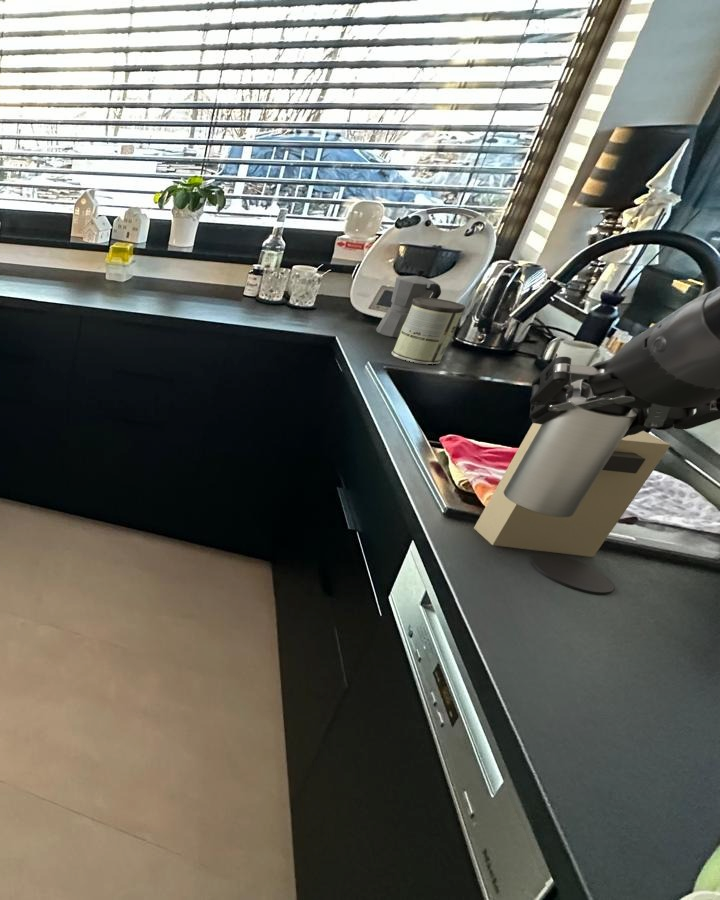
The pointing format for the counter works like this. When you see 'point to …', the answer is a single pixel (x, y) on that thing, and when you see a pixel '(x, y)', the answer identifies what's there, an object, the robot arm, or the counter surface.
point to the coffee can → (427, 330)
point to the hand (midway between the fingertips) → (575, 422)
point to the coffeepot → (406, 301)
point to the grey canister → (568, 458)
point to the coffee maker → (585, 526)
